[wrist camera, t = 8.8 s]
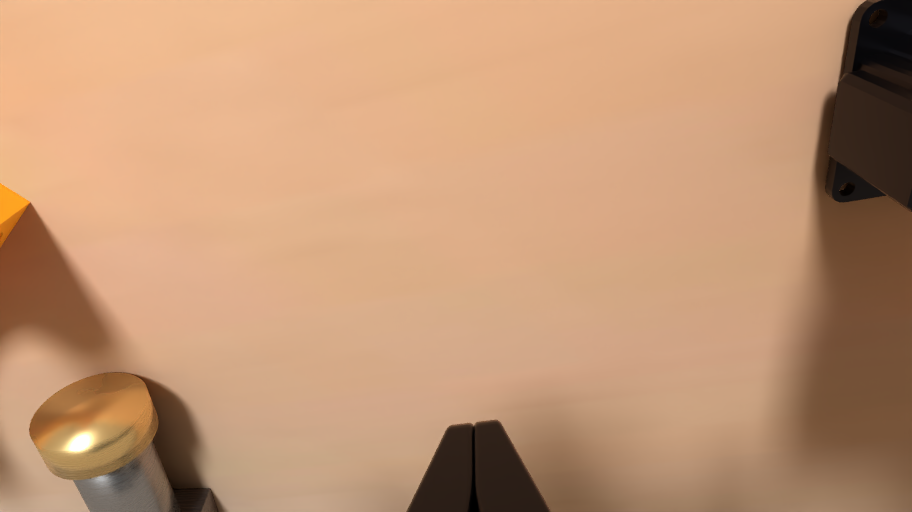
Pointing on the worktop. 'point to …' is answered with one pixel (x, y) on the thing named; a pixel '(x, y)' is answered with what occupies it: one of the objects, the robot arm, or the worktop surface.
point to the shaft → (110, 447)
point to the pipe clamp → (10, 211)
